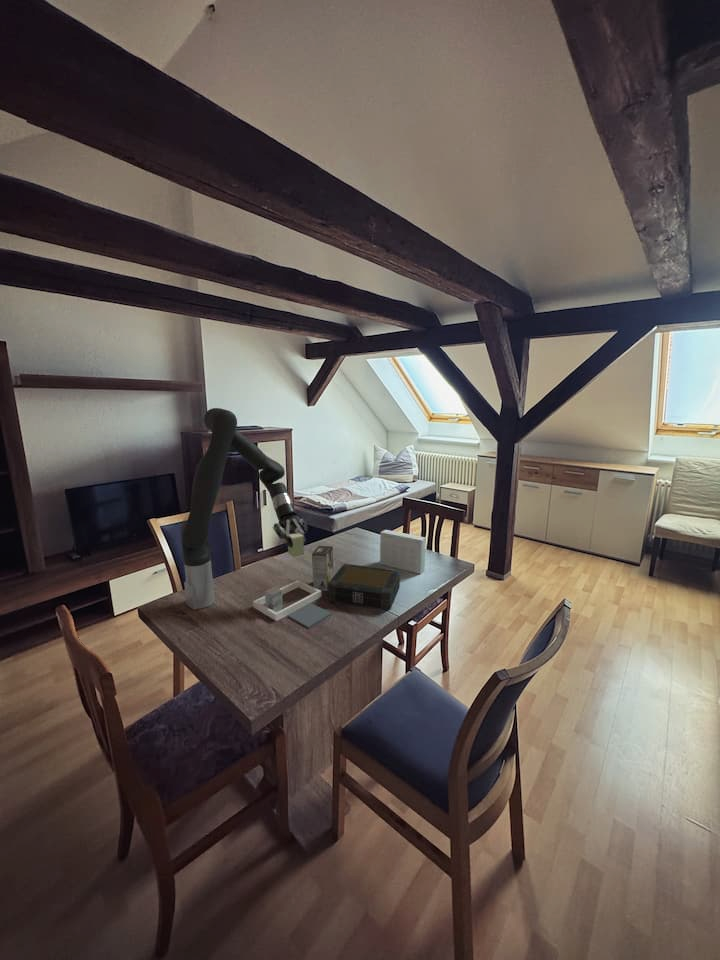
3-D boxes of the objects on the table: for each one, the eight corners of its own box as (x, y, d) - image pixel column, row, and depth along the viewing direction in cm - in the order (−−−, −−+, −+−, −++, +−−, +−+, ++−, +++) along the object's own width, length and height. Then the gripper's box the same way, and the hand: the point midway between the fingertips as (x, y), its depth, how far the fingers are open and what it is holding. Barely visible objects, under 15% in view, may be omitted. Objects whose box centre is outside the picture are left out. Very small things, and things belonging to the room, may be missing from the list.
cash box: (326, 602, 147) (326, 584, 145) (343, 579, 166) (343, 562, 164) (389, 612, 140) (390, 593, 138) (400, 586, 159) (400, 569, 157)
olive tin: (293, 557, 144) (292, 538, 142) (288, 553, 147) (287, 534, 146) (304, 554, 146) (303, 535, 145) (298, 550, 150) (298, 532, 148)
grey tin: (273, 613, 139) (272, 595, 137) (265, 609, 142) (264, 591, 140) (283, 608, 142) (282, 590, 141) (275, 604, 145) (274, 586, 144)
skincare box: (425, 570, 173) (426, 537, 170) (420, 574, 169) (421, 541, 165) (384, 559, 184) (385, 528, 181) (379, 563, 180) (379, 532, 177)
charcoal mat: (308, 628, 130) (308, 626, 130) (288, 616, 137) (288, 615, 137) (331, 614, 138) (331, 613, 138) (310, 604, 145) (310, 602, 145)
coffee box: (319, 579, 165) (318, 544, 161) (333, 581, 163) (333, 546, 160) (312, 590, 156) (311, 553, 152) (327, 591, 155) (326, 554, 151)
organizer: (276, 621, 134) (275, 614, 134) (253, 607, 143) (253, 601, 143) (321, 596, 151) (321, 590, 150) (298, 585, 159) (298, 580, 159)
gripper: (269, 505, 145) (283, 544, 138) (303, 499, 153) (317, 537, 146) (264, 514, 150) (277, 553, 143) (297, 509, 158) (311, 545, 151)
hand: (297, 545), depth 144 cm, fingers closed on olive tin, 4 cm apart
